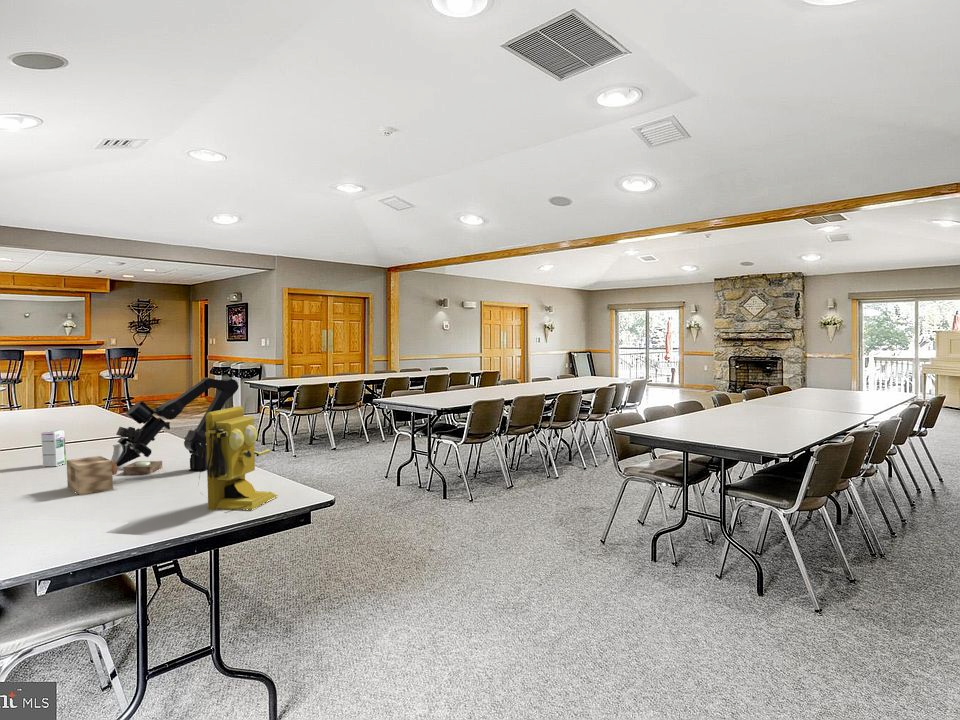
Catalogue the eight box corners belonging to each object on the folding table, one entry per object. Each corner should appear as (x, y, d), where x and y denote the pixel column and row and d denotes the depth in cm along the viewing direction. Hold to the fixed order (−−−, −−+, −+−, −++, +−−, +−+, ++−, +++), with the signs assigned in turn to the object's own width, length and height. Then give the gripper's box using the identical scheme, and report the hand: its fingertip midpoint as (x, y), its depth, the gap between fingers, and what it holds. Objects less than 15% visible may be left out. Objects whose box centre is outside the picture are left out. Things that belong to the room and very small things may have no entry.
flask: (133, 467, 237) (132, 443, 236) (120, 471, 230) (119, 446, 229) (116, 466, 238) (115, 442, 237) (103, 471, 230) (102, 446, 230)
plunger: (113, 473, 211) (112, 460, 211) (117, 475, 208) (117, 462, 207) (86, 477, 205) (86, 464, 204) (90, 479, 201) (90, 466, 201)
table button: (152, 468, 232) (152, 461, 232) (146, 471, 227) (146, 464, 227) (140, 469, 232) (139, 461, 231) (133, 472, 227) (133, 464, 226)
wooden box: (100, 482, 212) (99, 455, 211) (113, 489, 203) (112, 460, 202) (67, 488, 204) (66, 460, 204) (79, 495, 195) (78, 465, 195)
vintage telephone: (233, 520, 167) (231, 417, 166) (190, 518, 170) (187, 416, 168) (288, 491, 198) (286, 404, 197) (251, 490, 200) (249, 403, 199)
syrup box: (56, 466, 238) (55, 432, 238) (42, 467, 238) (40, 432, 238) (66, 463, 244) (65, 429, 243) (52, 463, 244) (51, 429, 243)
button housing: (162, 468, 235) (162, 460, 234) (150, 474, 225) (149, 466, 224) (136, 468, 234) (136, 461, 234) (123, 474, 224) (123, 466, 224)
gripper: (122, 416, 219) (89, 449, 211) (140, 420, 207) (106, 456, 199) (146, 433, 225) (115, 466, 217) (165, 439, 213) (132, 474, 205)
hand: (116, 465), depth 209 cm, fingers closed
